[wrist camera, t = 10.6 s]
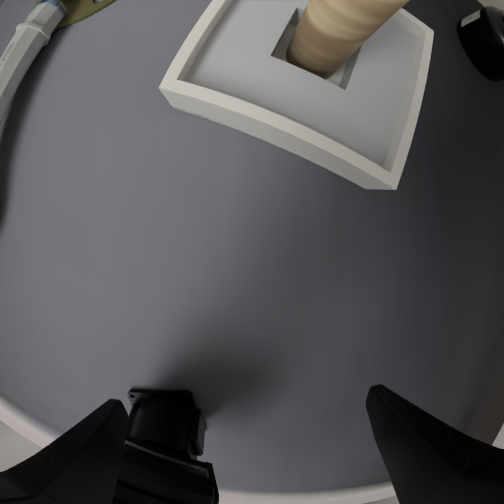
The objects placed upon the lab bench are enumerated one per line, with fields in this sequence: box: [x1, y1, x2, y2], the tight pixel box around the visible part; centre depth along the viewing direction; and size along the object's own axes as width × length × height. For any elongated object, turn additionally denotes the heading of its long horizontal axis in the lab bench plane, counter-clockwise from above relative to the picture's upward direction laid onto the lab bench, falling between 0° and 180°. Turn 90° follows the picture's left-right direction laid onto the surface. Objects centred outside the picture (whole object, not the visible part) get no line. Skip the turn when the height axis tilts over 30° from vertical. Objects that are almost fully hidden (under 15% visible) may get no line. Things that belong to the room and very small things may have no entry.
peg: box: [286, 0, 410, 79], centre depth 10 cm, size 4×4×13 cm
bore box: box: [159, 0, 434, 190], centre depth 15 cm, size 16×16×4 cm
